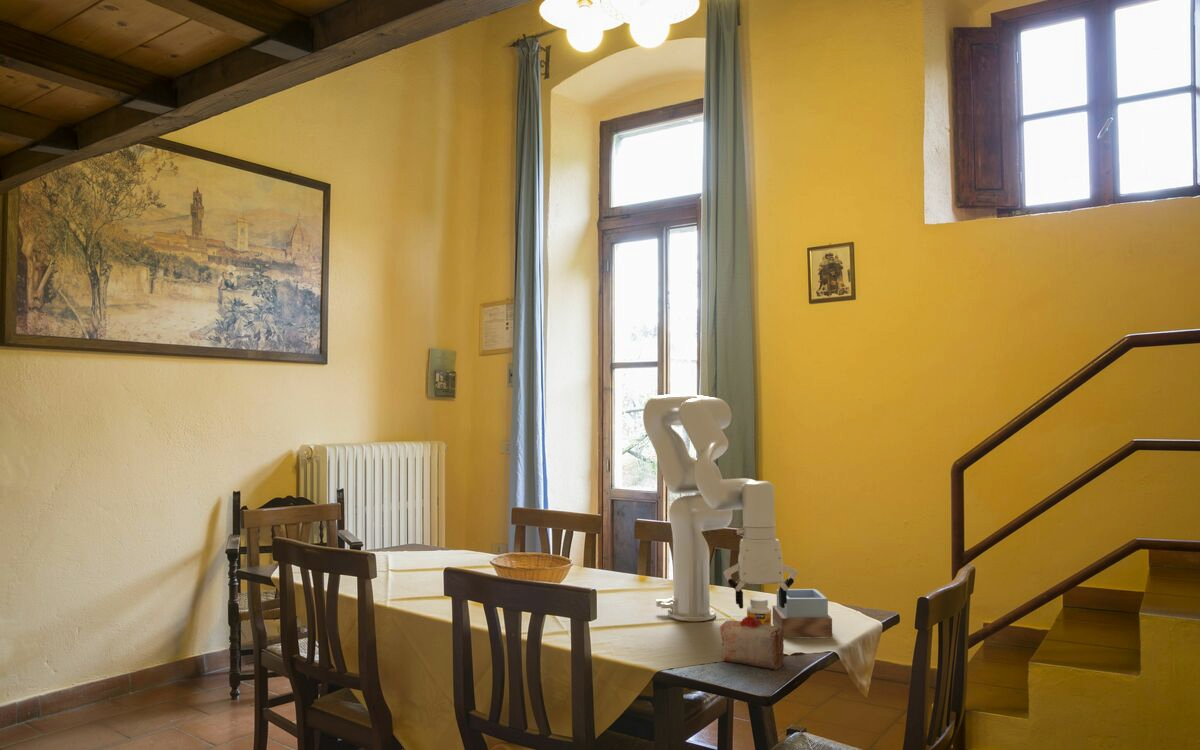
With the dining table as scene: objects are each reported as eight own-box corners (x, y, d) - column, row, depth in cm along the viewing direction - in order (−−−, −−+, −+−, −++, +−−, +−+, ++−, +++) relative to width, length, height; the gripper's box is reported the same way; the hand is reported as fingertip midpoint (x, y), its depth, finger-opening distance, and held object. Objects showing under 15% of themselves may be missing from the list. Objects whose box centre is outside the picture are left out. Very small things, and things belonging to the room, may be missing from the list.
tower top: (786, 617, 196) (786, 598, 197) (776, 607, 206) (776, 589, 207) (827, 617, 197) (827, 598, 197) (815, 606, 207) (815, 589, 207)
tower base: (782, 639, 196) (781, 618, 196) (772, 625, 208) (772, 605, 208) (832, 639, 196) (832, 618, 196) (819, 625, 208) (819, 605, 208)
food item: (715, 662, 178) (715, 616, 178) (729, 652, 185) (729, 608, 185) (776, 673, 171) (775, 625, 171) (787, 662, 178) (787, 616, 178)
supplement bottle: (752, 646, 189) (752, 602, 189) (743, 639, 194) (743, 596, 194) (775, 645, 190) (774, 601, 190) (765, 638, 195) (764, 595, 196)
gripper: (724, 536, 189) (726, 611, 188) (799, 535, 188) (801, 610, 187) (720, 532, 196) (722, 603, 195) (792, 531, 196) (794, 603, 195)
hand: (761, 607), depth 191 cm, fingers open, 9 cm apart
